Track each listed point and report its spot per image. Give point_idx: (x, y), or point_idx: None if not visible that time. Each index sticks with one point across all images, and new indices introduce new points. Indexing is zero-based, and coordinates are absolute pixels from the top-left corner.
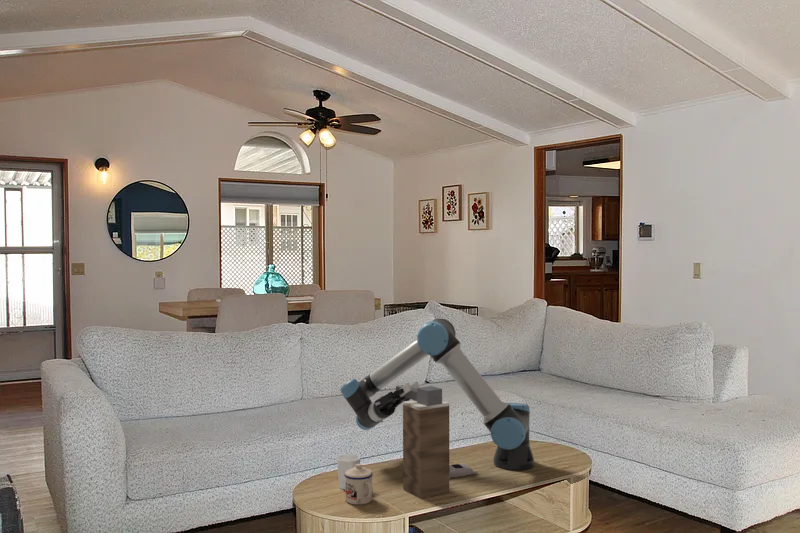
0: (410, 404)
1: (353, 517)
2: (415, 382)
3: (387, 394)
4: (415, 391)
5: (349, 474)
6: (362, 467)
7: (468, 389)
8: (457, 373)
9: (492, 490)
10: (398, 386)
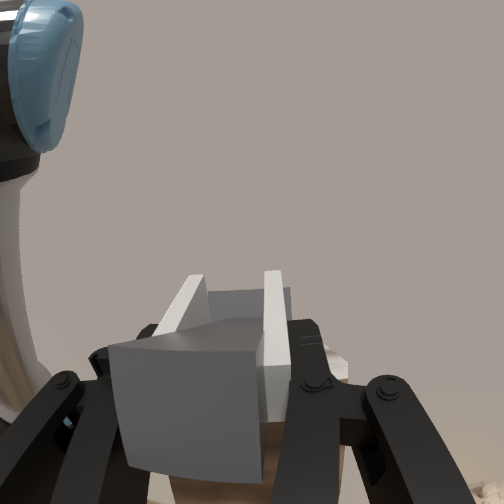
0: (332, 351)
1: (467, 485)
2: (201, 278)
3: (429, 428)
4: (263, 319)
5: (501, 483)
6: (476, 497)
7: (23, 329)
8: (15, 265)
9: (154, 501)
10: (247, 342)
